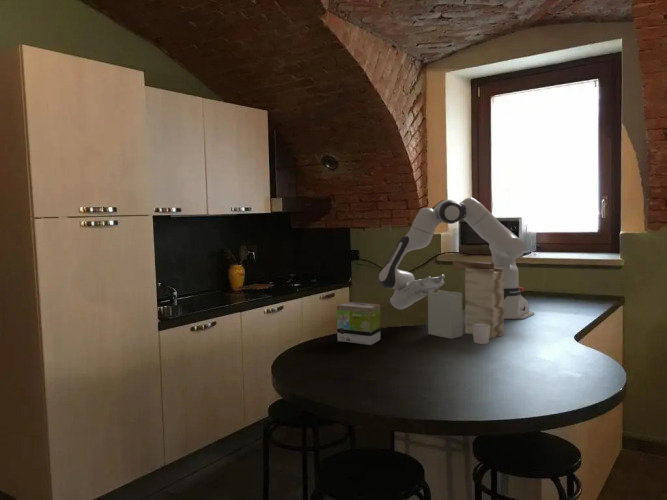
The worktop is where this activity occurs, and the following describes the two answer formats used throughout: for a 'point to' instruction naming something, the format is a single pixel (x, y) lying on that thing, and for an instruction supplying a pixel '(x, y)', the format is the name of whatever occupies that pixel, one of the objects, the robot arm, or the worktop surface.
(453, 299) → the block
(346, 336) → the tea box
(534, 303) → the worktop surface
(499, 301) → the shelf block
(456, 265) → the walnut bar
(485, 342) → the grey brown short cylinder
